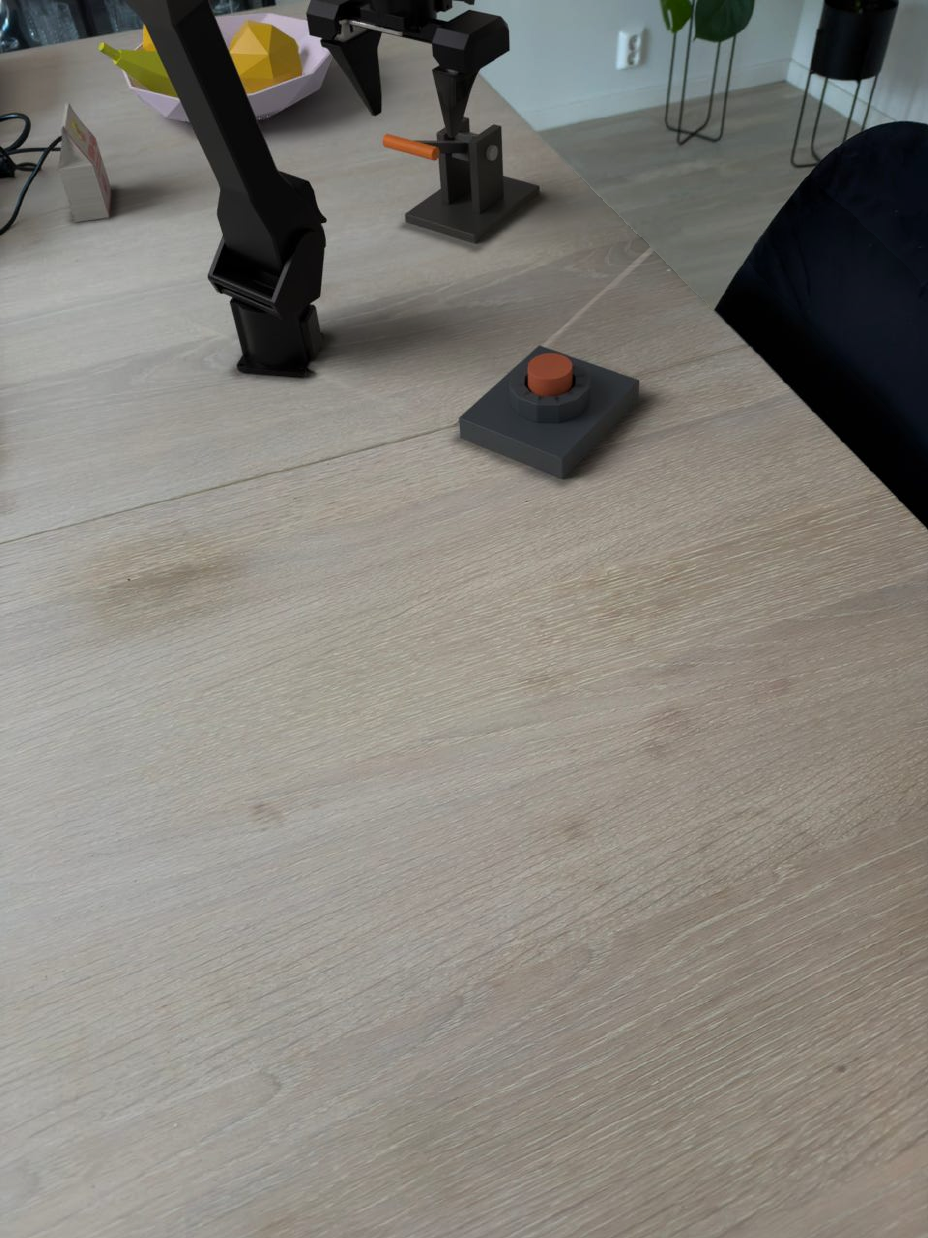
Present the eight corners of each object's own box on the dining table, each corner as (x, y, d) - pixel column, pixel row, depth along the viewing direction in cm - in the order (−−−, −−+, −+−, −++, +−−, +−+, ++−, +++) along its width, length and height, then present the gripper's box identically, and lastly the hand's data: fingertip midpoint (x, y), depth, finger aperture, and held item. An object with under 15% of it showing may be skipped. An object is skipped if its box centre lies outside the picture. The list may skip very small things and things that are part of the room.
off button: (556, 402, 87) (556, 384, 86) (519, 388, 89) (518, 370, 88) (580, 379, 89) (581, 361, 88) (543, 365, 91) (543, 347, 89)
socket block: (562, 480, 86) (562, 440, 84) (460, 438, 91) (457, 399, 88) (638, 401, 93) (641, 361, 90) (539, 365, 97) (538, 326, 94)
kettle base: (475, 247, 111) (470, 163, 105) (405, 226, 115) (397, 143, 109) (539, 197, 117) (539, 114, 111) (471, 178, 121) (467, 97, 115)
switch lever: (430, 167, 102) (434, 140, 101) (380, 153, 105) (383, 126, 104) (499, 165, 111) (503, 140, 110) (452, 152, 114) (455, 127, 113)
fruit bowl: (308, 45, 150) (293, -48, 142) (365, 121, 133) (353, 21, 124) (104, 86, 145) (77, -7, 136) (137, 172, 127) (107, 71, 119)
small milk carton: (75, 222, 120) (44, 130, 113) (79, 193, 125) (49, 104, 117) (109, 217, 120) (80, 126, 113) (111, 188, 125) (83, 99, 118)
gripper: (545, -80, 90) (547, 112, 101) (373, -108, 98) (392, 73, 109) (464, -37, 84) (475, 161, 96) (288, -71, 92) (318, 116, 104)
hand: (414, 124), depth 101 cm, fingers open, 9 cm apart
